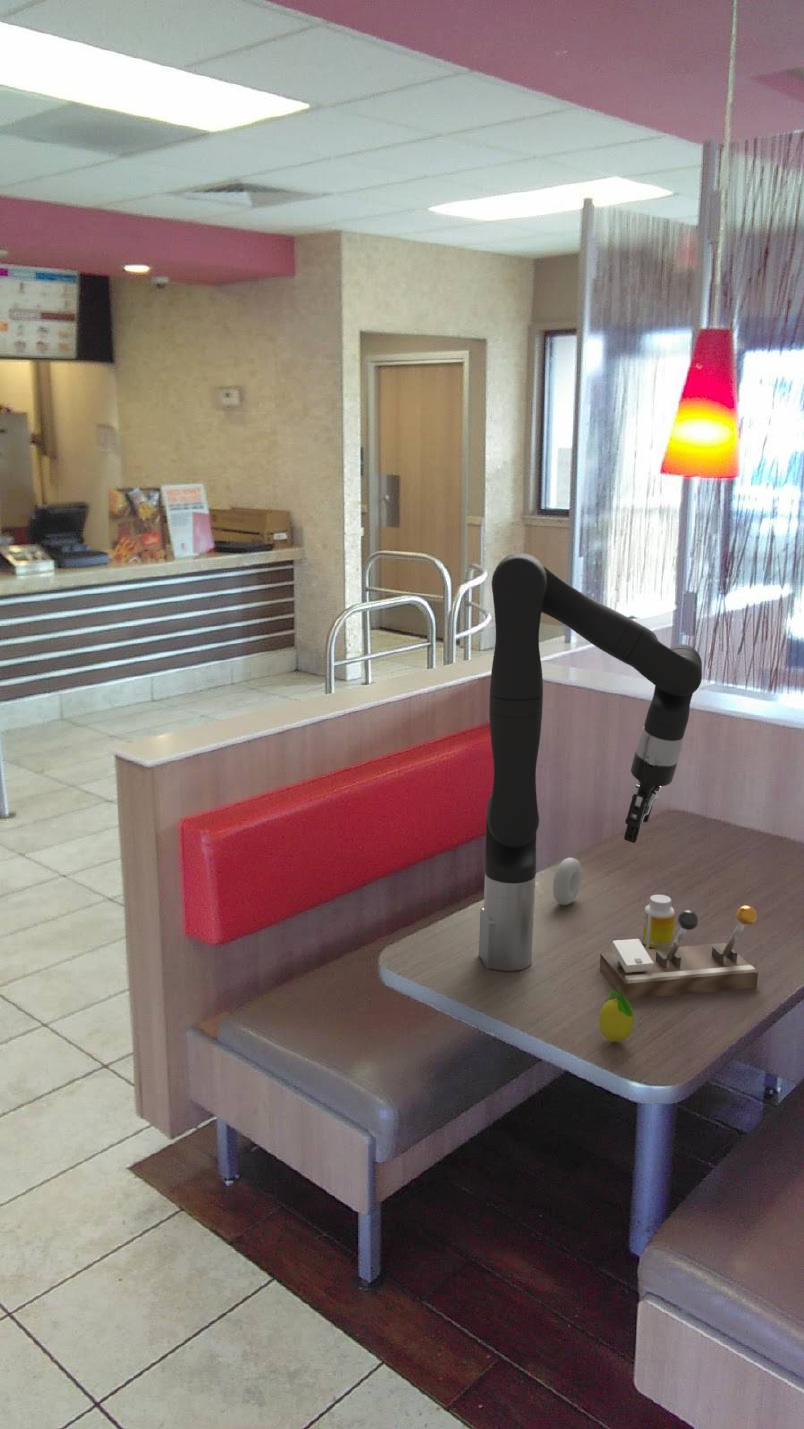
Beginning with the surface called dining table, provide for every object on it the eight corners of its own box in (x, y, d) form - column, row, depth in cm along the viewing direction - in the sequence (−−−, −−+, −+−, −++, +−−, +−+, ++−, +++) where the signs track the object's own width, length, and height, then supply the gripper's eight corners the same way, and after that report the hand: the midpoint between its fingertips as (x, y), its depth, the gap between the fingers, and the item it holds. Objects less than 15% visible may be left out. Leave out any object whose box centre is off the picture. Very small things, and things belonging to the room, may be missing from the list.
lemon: (630, 1056, 178) (634, 999, 175) (593, 1048, 180) (597, 991, 177) (637, 1036, 184) (642, 980, 181) (602, 1028, 186) (605, 973, 183)
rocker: (625, 972, 197) (627, 964, 197) (611, 947, 204) (612, 940, 203) (652, 970, 198) (653, 962, 198) (637, 945, 205) (638, 937, 204)
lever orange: (720, 962, 203) (744, 918, 193) (713, 946, 205) (737, 902, 196) (737, 961, 203) (762, 916, 194) (730, 945, 206) (754, 900, 196)
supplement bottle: (678, 950, 214) (682, 901, 212) (655, 957, 212) (659, 906, 209) (658, 939, 219) (661, 890, 217) (636, 945, 216) (639, 896, 214)
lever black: (663, 967, 200) (685, 922, 191) (657, 951, 203) (678, 906, 194) (681, 965, 201) (703, 921, 192) (674, 949, 203) (696, 905, 194)
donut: (564, 913, 230) (566, 868, 228) (549, 909, 232) (551, 864, 229) (583, 897, 238) (585, 853, 236) (568, 893, 240) (570, 849, 238)
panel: (625, 999, 196) (626, 974, 194) (599, 968, 207) (601, 944, 206) (756, 987, 201) (759, 963, 199) (724, 957, 212) (726, 934, 211)
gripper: (647, 732, 206) (626, 807, 214) (626, 762, 195) (605, 840, 202) (686, 745, 204) (664, 820, 211) (668, 776, 192) (645, 855, 199)
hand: (635, 830), depth 207 cm, fingers open, 8 cm apart
